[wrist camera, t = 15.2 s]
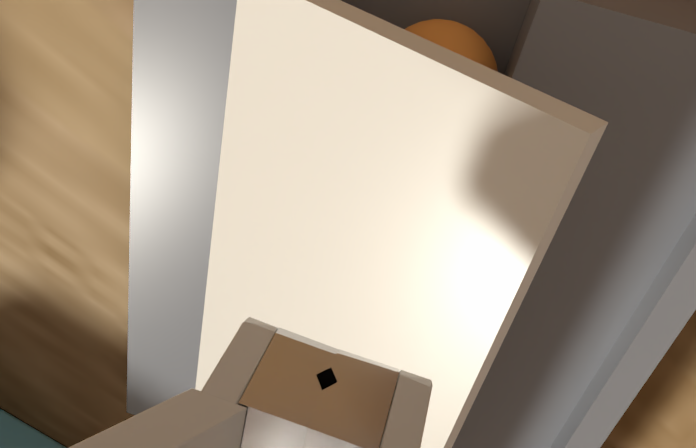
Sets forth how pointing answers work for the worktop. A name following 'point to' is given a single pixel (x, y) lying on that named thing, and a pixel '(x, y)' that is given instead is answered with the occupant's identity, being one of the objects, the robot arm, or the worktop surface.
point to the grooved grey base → (561, 256)
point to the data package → (22, 434)
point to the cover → (382, 196)
